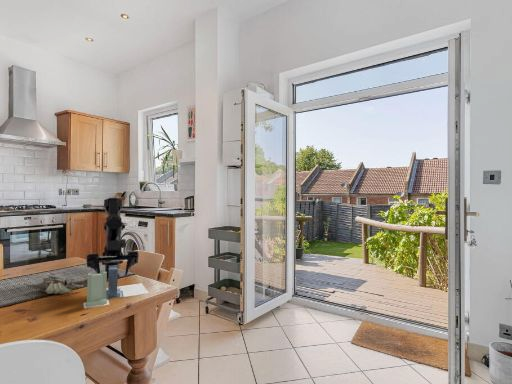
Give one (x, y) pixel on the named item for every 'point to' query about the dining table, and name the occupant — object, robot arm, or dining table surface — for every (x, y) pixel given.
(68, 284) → the figurine
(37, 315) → the dining table surface
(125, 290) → the card
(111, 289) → the blue flanged post
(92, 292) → the pale green upright block
